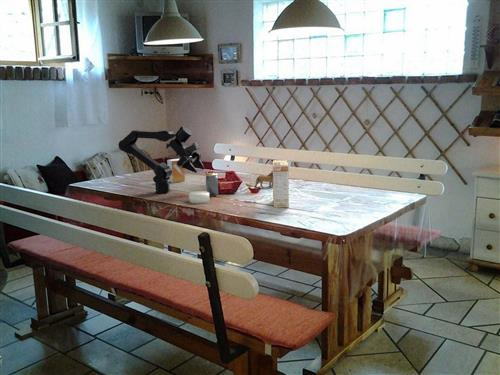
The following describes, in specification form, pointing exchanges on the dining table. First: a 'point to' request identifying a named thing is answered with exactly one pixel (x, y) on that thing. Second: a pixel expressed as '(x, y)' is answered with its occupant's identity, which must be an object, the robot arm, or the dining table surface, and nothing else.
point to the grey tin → (212, 184)
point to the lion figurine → (265, 179)
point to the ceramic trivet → (199, 197)
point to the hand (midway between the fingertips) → (200, 170)
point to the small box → (176, 171)
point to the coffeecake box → (280, 183)
